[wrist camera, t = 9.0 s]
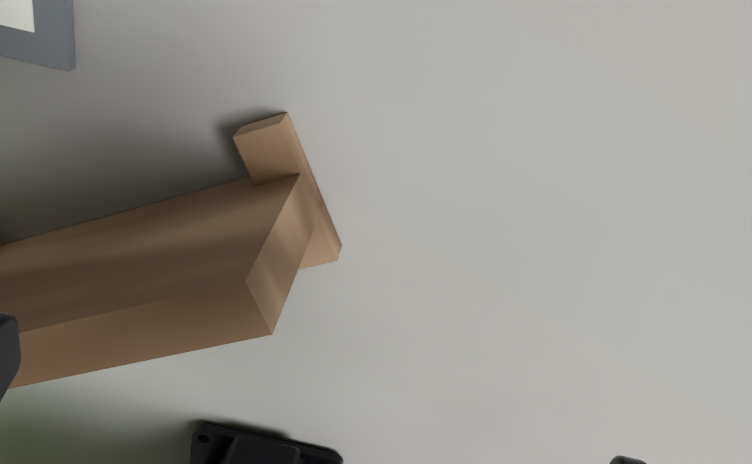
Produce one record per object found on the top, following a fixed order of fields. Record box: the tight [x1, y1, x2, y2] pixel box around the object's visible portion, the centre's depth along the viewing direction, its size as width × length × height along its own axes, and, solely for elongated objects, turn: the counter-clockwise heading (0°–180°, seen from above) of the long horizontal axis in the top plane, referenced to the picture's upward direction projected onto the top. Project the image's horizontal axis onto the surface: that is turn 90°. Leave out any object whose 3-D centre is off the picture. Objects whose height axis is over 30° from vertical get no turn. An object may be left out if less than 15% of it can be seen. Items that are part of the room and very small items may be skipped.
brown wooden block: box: [0, 112, 342, 389], centre depth 20 cm, size 5×14×7 cm, turn 109°
